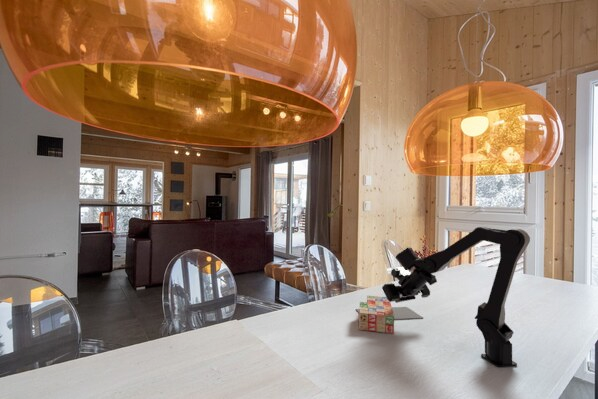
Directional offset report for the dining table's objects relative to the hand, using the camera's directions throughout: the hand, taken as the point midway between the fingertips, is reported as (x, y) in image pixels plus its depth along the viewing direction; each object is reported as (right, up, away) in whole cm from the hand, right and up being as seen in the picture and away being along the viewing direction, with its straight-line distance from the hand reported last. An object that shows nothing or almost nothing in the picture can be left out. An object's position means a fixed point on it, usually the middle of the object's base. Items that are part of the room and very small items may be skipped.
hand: (395, 301), depth 115 cm
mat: (-1, -8, +7) cm, 11 cm away
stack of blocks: (-2, -4, -2) cm, 5 cm away
